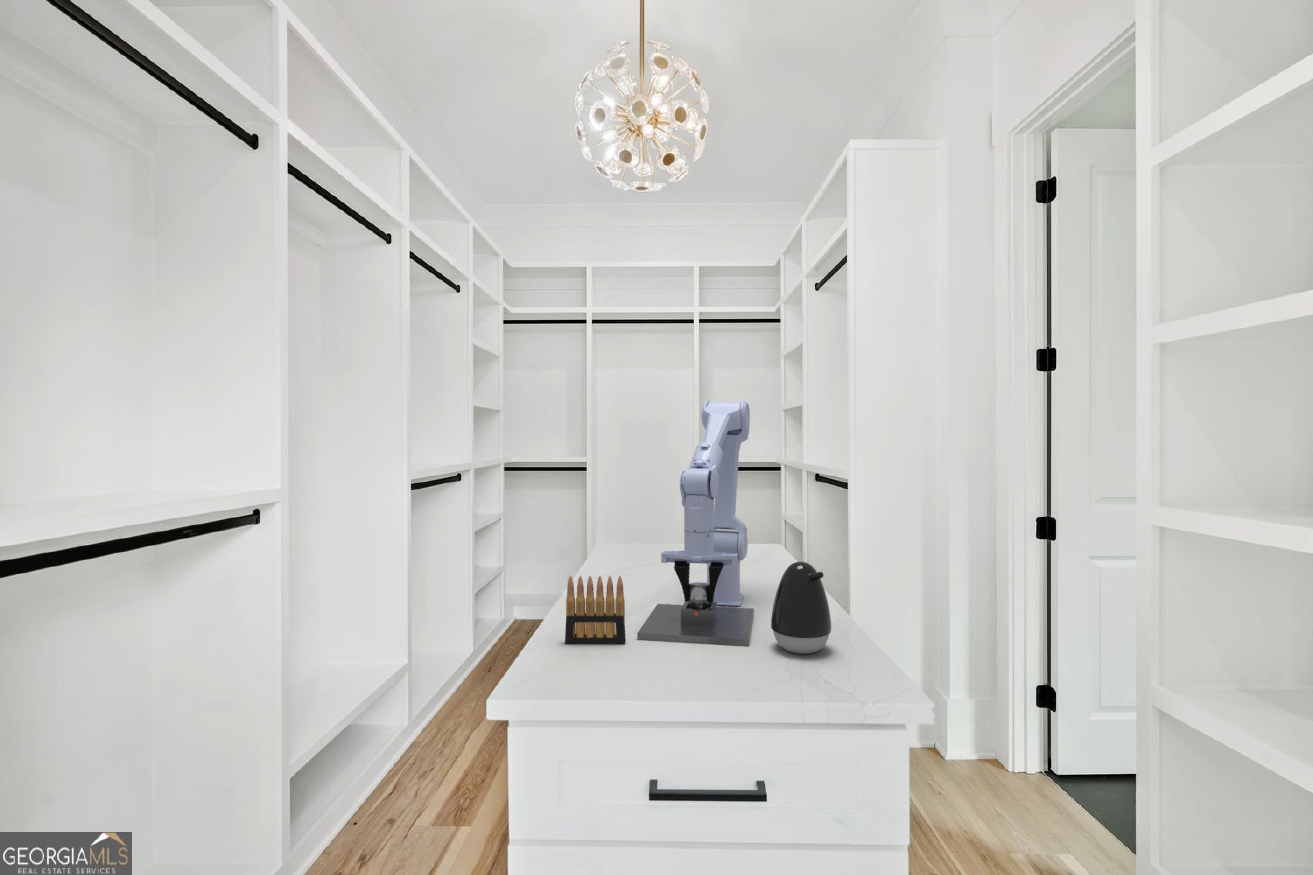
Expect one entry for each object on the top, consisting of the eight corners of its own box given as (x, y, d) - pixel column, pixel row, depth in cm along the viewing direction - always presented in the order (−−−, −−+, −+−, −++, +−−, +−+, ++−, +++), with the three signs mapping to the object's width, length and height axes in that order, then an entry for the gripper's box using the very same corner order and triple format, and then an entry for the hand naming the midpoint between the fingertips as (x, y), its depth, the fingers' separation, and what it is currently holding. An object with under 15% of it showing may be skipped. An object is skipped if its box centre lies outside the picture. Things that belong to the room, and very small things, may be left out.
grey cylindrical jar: (690, 614, 132) (690, 581, 132) (710, 615, 131) (710, 582, 131) (687, 620, 128) (687, 586, 128) (708, 621, 127) (708, 587, 127)
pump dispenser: (797, 663, 109) (797, 570, 109) (759, 645, 119) (759, 559, 118) (845, 653, 114) (845, 564, 114) (804, 636, 123) (804, 553, 123)
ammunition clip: (564, 644, 119) (564, 577, 119) (566, 641, 121) (565, 574, 121) (625, 644, 119) (624, 577, 119) (625, 641, 121) (625, 574, 121)
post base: (657, 609, 141) (657, 590, 141) (753, 614, 138) (753, 594, 138) (637, 639, 122) (637, 617, 122) (748, 646, 118) (748, 623, 118)
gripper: (658, 532, 127) (658, 604, 127) (735, 534, 124) (735, 608, 124) (664, 526, 134) (664, 594, 134) (738, 528, 131) (738, 598, 131)
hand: (699, 600), depth 130 cm, fingers closed on grey cylindrical jar, 4 cm apart
